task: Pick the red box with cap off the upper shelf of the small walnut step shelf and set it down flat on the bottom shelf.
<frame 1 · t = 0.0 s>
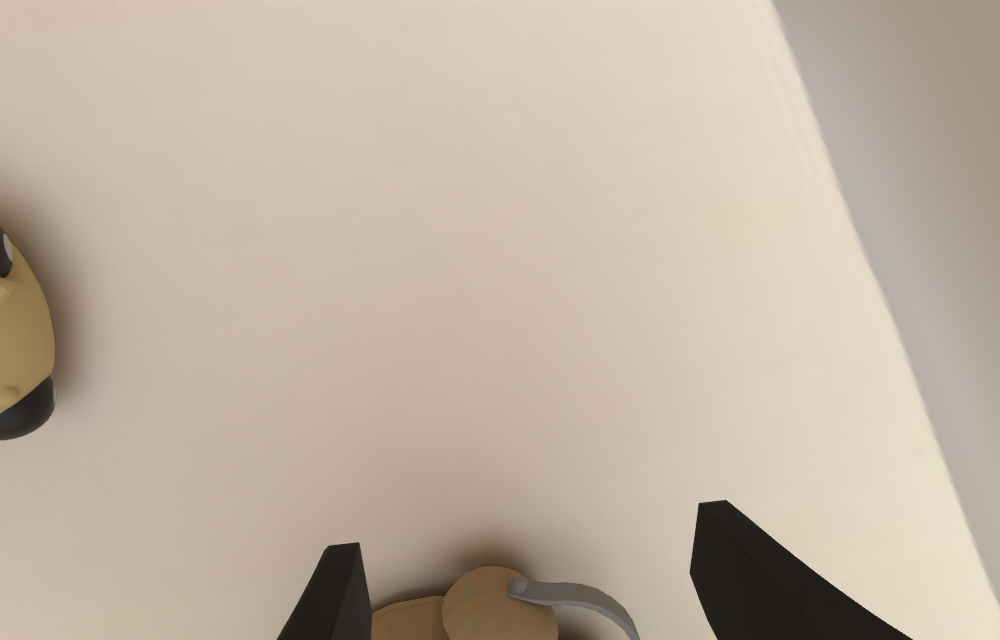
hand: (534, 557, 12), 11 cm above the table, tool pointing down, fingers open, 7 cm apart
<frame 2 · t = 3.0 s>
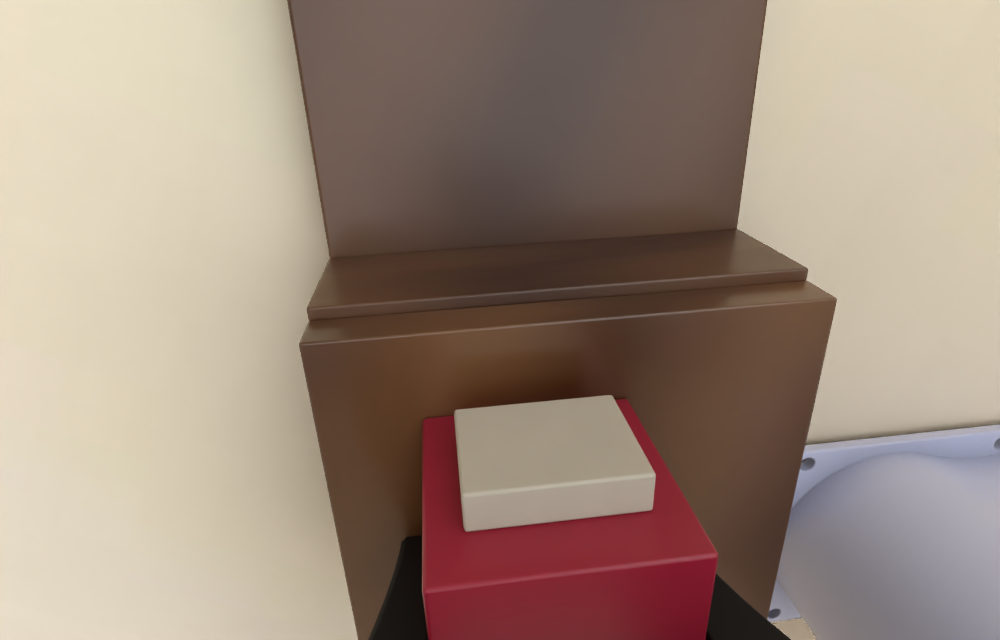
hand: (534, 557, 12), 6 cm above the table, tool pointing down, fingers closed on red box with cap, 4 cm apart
red box with cap: (529, 543, 13), point 5 cm above the table, touching gripper, step shelf
step shelf: (530, 244, 16), on the table
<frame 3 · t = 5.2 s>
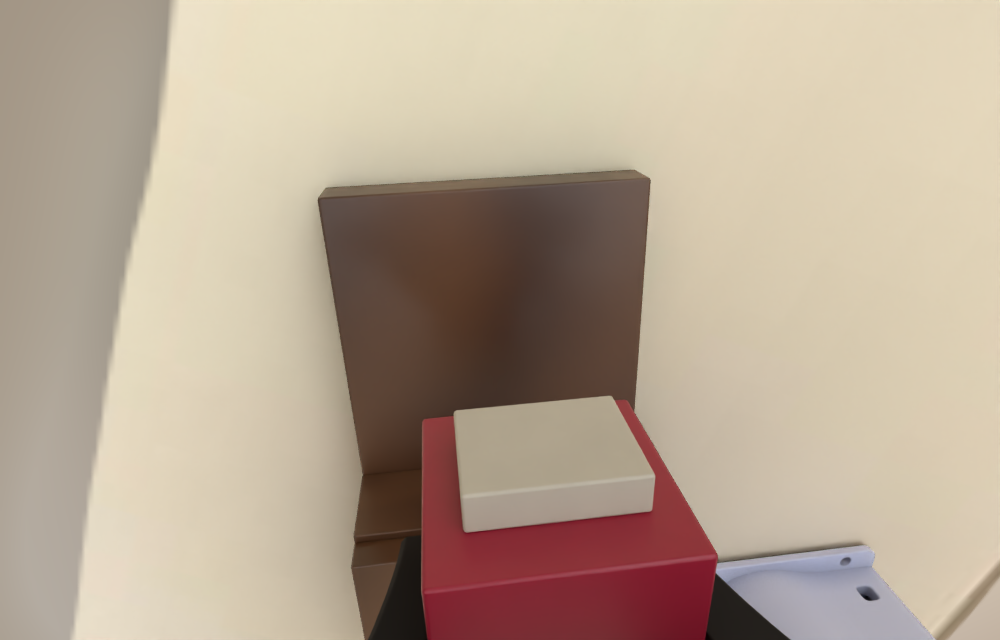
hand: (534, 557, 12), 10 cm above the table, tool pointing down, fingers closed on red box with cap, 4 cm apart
red box with cap: (529, 544, 13), point 9 cm above the table, touching gripper
step shelf: (496, 447, 23), on the table
when the fingers open (2 cm above the table, at t = 7.6 s): red box with cap stays where it is, resting on step shelf.
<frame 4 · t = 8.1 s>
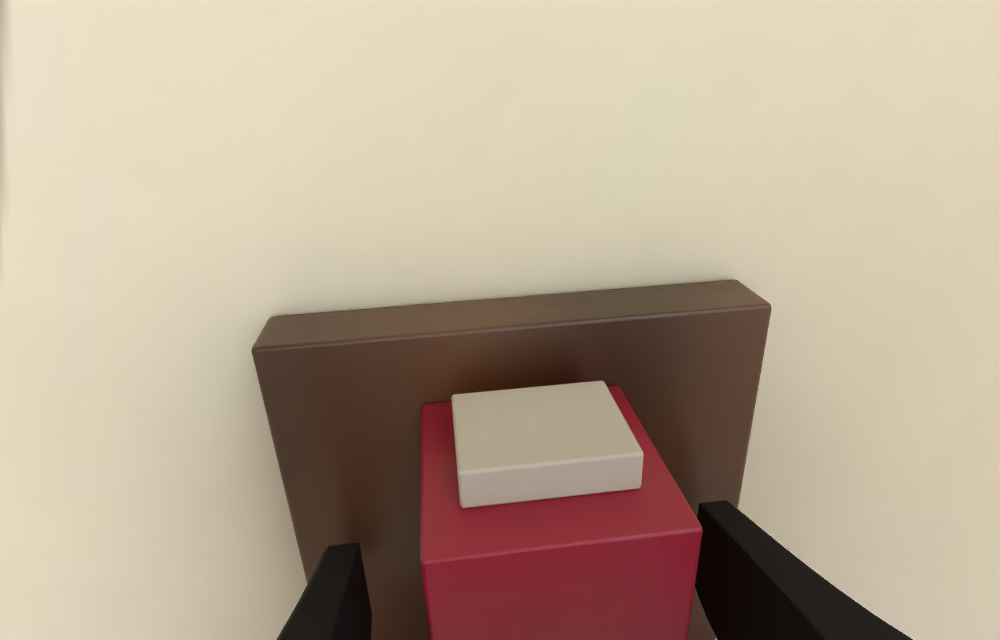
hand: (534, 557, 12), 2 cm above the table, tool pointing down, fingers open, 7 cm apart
red box with cap: (525, 527, 13), point 1 cm above the table, touching step shelf
step shelf: (522, 635, 17), on the table
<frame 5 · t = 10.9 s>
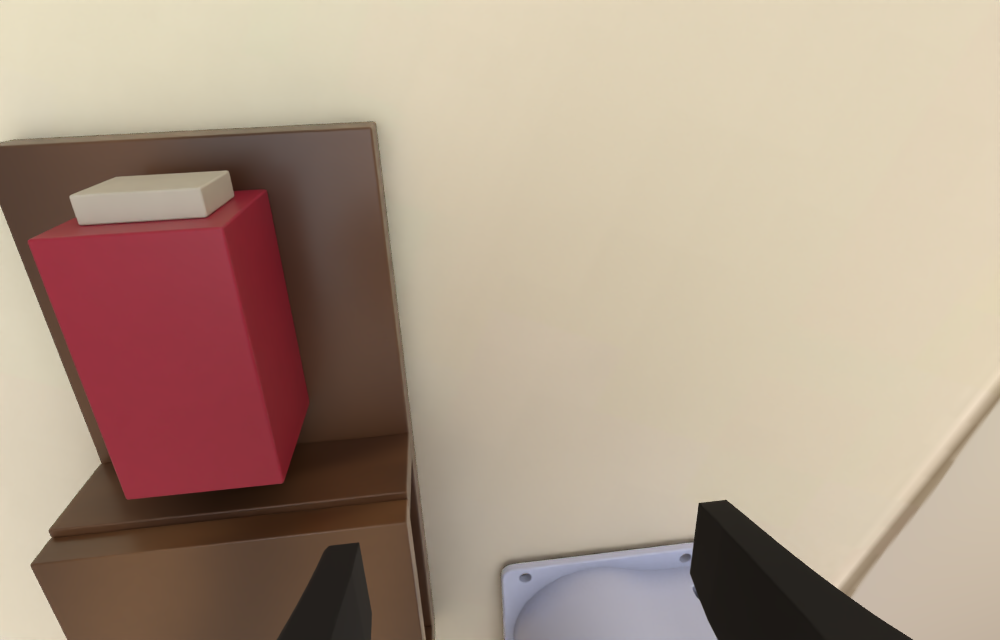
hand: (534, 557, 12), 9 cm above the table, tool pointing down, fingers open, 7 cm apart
red box with cap: (221, 310, 18), point 1 cm above the table, touching step shelf
step shelf: (271, 433, 21), on the table
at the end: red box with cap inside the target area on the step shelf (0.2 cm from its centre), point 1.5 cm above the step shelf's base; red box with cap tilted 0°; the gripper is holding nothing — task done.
